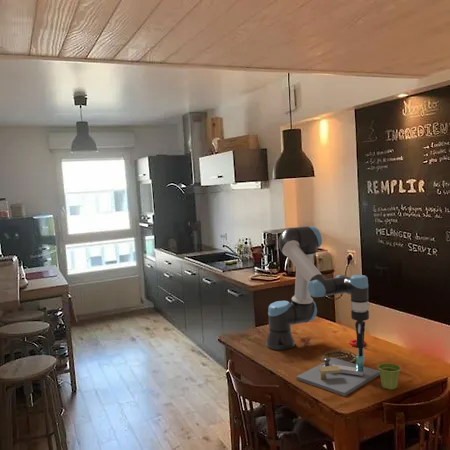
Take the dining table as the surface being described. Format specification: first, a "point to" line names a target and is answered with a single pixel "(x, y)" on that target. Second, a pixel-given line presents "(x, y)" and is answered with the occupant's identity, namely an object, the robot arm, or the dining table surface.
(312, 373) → the base plate
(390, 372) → the plant pot
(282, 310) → the robot arm
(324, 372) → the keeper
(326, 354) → the dining table surface
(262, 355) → the dining table surface
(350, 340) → the tow hook
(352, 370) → the lever
